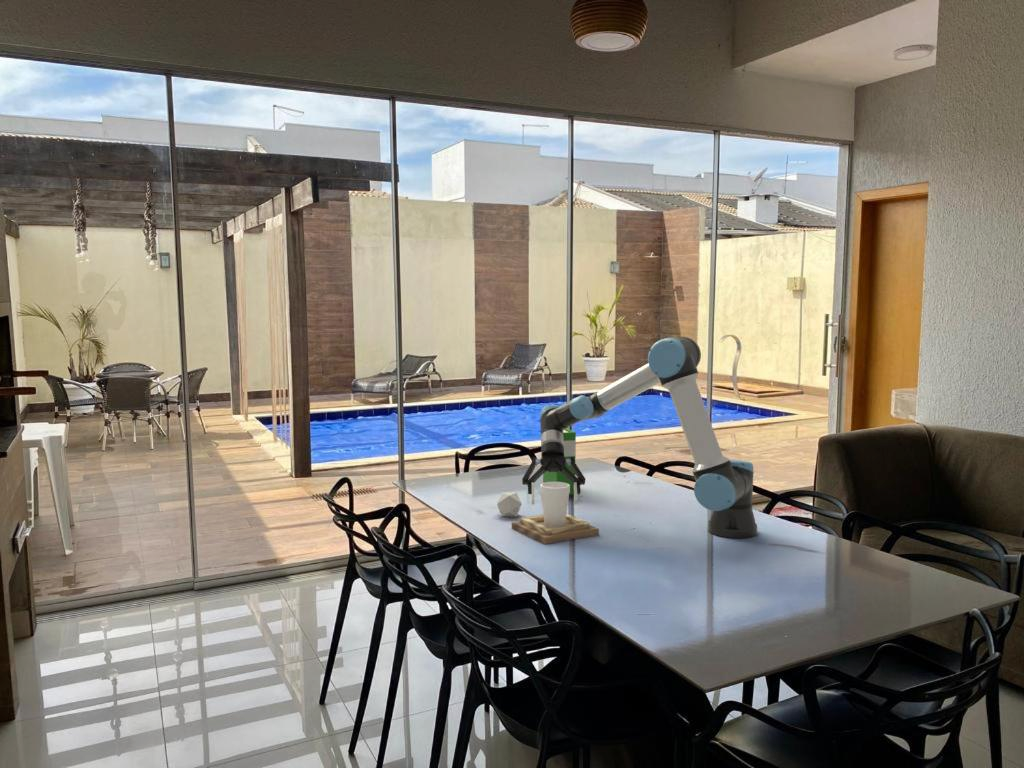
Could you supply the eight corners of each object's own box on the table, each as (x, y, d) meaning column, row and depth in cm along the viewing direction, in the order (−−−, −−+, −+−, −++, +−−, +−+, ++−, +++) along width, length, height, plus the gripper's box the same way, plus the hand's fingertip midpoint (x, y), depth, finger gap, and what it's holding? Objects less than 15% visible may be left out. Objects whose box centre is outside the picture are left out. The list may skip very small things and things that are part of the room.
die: (512, 522, 268) (527, 497, 270) (490, 508, 269) (506, 484, 271) (512, 524, 276) (526, 500, 278) (491, 511, 277) (505, 487, 279)
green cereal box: (543, 486, 319) (543, 426, 316) (560, 485, 320) (561, 425, 318) (556, 496, 302) (556, 433, 299) (575, 495, 303) (575, 432, 301)
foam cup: (570, 521, 259) (570, 482, 257) (569, 529, 250) (569, 488, 248) (540, 520, 260) (540, 481, 258) (538, 528, 250) (538, 487, 249)
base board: (598, 534, 251) (598, 523, 251) (544, 544, 241) (544, 532, 241) (563, 519, 268) (563, 509, 268) (511, 528, 258) (511, 517, 258)
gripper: (589, 453, 269) (593, 508, 256) (514, 453, 269) (515, 508, 256) (590, 440, 263) (595, 496, 250) (514, 440, 263) (515, 496, 250)
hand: (554, 502), depth 253 cm, fingers open, 13 cm apart
